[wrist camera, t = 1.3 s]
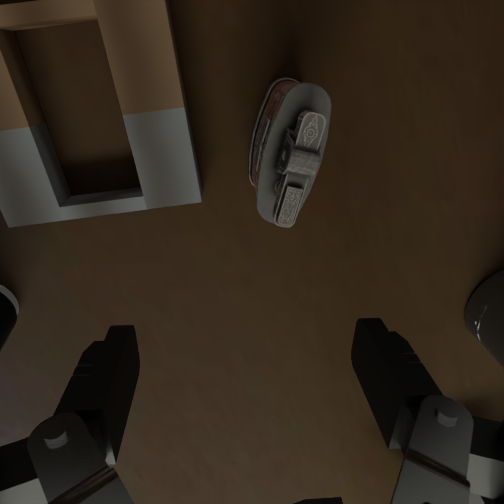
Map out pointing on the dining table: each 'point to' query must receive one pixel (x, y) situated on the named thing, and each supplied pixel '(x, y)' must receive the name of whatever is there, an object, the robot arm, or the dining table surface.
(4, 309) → the dixie cup
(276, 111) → the lighter
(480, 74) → the dining table surface
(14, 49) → the tan flat square frame
